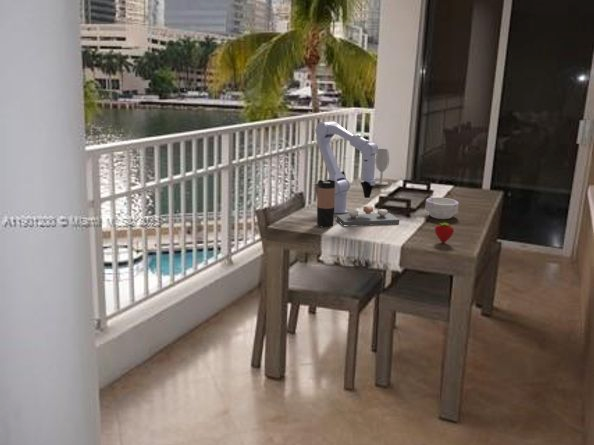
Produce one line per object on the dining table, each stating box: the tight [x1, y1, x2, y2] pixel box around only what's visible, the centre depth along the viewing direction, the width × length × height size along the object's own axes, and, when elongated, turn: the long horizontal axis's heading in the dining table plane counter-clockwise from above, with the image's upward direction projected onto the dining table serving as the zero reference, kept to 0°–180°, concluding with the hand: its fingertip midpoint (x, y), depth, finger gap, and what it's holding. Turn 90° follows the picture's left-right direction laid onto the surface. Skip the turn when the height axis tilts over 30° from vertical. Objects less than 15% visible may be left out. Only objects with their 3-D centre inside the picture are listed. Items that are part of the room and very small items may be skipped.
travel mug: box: [316, 179, 335, 228], centre depth 258 cm, size 8×8×20 cm
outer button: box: [377, 208, 388, 217], centre depth 268 cm, size 4×4×3 cm
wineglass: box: [374, 148, 390, 186], centre depth 347 cm, size 9×9×21 cm
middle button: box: [362, 205, 374, 214], centre depth 266 cm, size 4×4×3 cm
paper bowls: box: [424, 196, 460, 220], centre depth 278 cm, size 15×15×8 cm
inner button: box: [348, 210, 359, 218], centre depth 265 cm, size 4×4×3 cm
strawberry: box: [434, 220, 454, 244], centre depth 237 cm, size 6×8×10 cm
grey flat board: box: [336, 212, 400, 226], centre depth 267 cm, size 26×12×2 cm, turn 103°
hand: (366, 197), depth 273 cm, fingers closed
